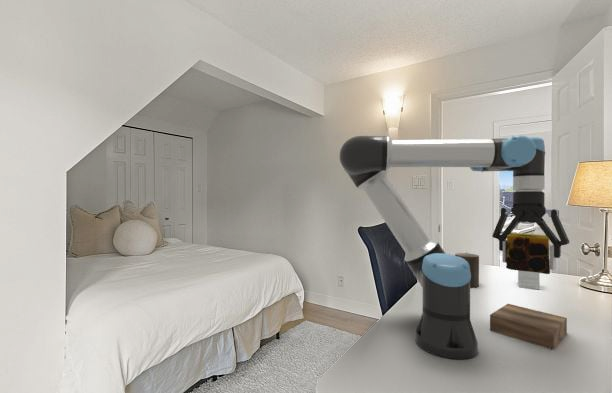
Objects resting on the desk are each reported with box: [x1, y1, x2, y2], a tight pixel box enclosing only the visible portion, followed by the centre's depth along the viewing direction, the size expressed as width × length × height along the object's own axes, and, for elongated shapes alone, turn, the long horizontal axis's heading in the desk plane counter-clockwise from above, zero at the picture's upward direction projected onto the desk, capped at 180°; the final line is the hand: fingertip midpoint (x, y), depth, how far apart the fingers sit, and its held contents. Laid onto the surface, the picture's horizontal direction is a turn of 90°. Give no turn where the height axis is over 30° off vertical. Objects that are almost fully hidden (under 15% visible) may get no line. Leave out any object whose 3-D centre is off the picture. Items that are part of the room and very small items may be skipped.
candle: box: [505, 232, 551, 275], centre depth 90 cm, size 10×10×10 cm
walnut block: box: [489, 303, 568, 350], centre depth 90 cm, size 15×15×5 cm
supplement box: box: [517, 270, 540, 290], centre depth 135 cm, size 7×7×13 cm
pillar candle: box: [454, 252, 480, 289], centre depth 137 cm, size 10×10×15 cm
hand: (528, 265), depth 90 cm, fingers closed on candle, 11 cm apart
